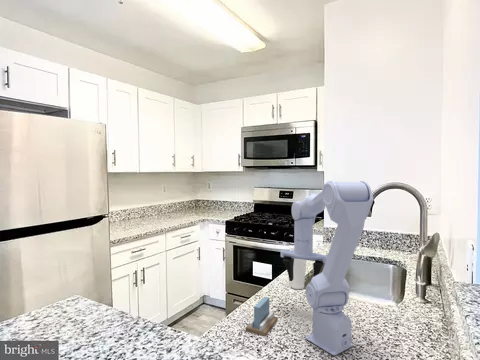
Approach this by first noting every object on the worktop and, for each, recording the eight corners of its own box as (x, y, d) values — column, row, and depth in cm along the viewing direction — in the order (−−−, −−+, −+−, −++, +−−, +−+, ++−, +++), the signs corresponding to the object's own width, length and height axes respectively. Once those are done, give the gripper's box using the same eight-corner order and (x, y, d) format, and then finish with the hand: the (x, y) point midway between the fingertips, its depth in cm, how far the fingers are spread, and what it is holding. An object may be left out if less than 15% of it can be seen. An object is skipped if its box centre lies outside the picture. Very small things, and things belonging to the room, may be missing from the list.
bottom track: (259, 316, 91) (259, 308, 91) (277, 320, 88) (277, 312, 88) (245, 331, 82) (245, 321, 82) (265, 336, 79) (265, 326, 79)
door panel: (259, 329, 81) (259, 307, 81) (253, 328, 82) (254, 306, 82) (269, 317, 88) (269, 297, 88) (264, 316, 89) (264, 296, 89)
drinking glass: (286, 288, 115) (286, 250, 115) (291, 283, 121) (292, 247, 121) (303, 291, 111) (303, 252, 111) (308, 286, 117) (308, 249, 117)
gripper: (329, 239, 93) (328, 282, 93) (285, 235, 99) (284, 275, 99) (325, 243, 86) (324, 289, 86) (278, 239, 93) (278, 281, 93)
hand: (303, 282), depth 92 cm, fingers open, 7 cm apart
